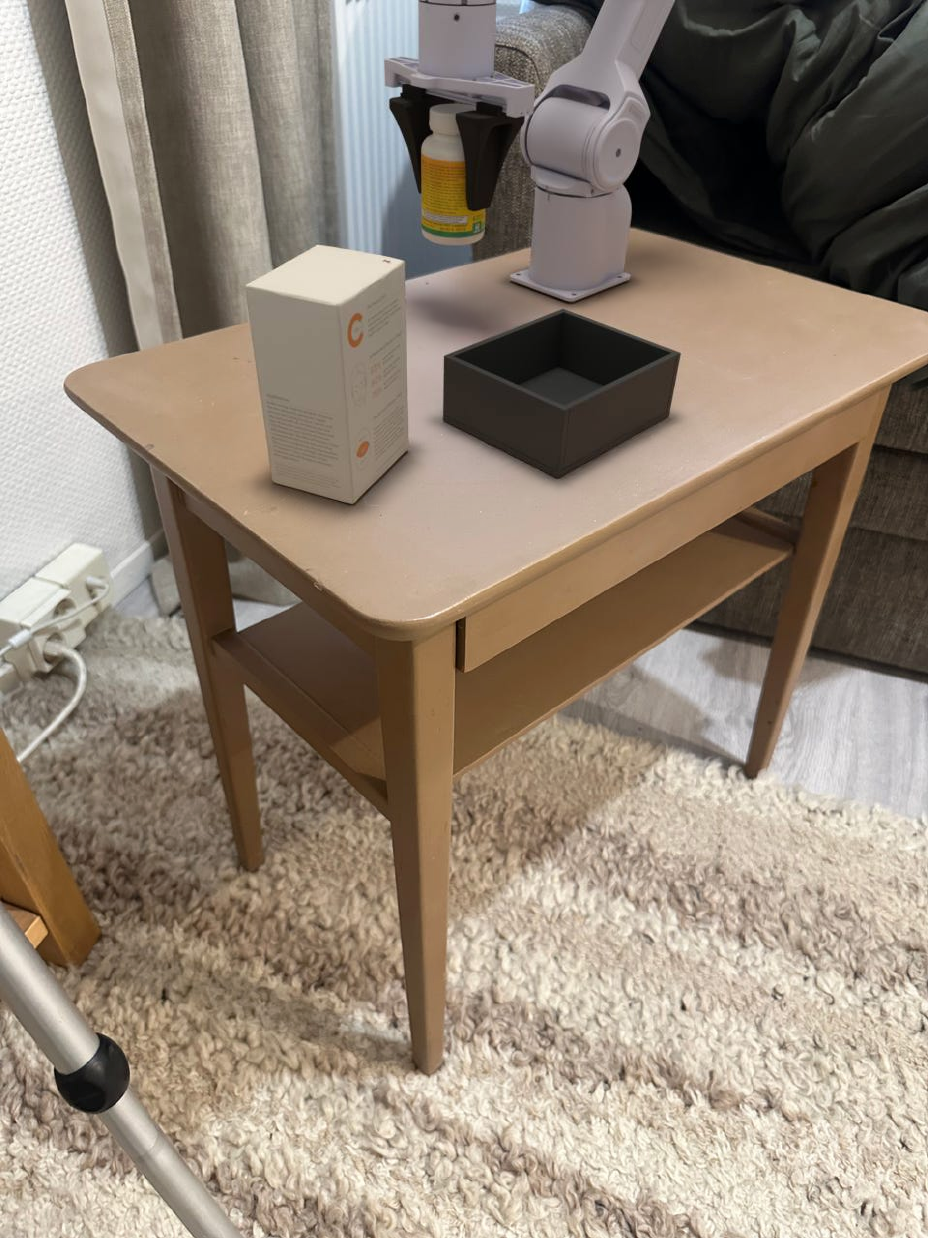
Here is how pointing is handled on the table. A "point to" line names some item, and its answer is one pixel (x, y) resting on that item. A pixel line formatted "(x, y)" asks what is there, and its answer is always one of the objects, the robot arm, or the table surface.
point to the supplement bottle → (447, 182)
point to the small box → (332, 369)
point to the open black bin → (558, 389)
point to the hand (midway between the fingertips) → (453, 199)
